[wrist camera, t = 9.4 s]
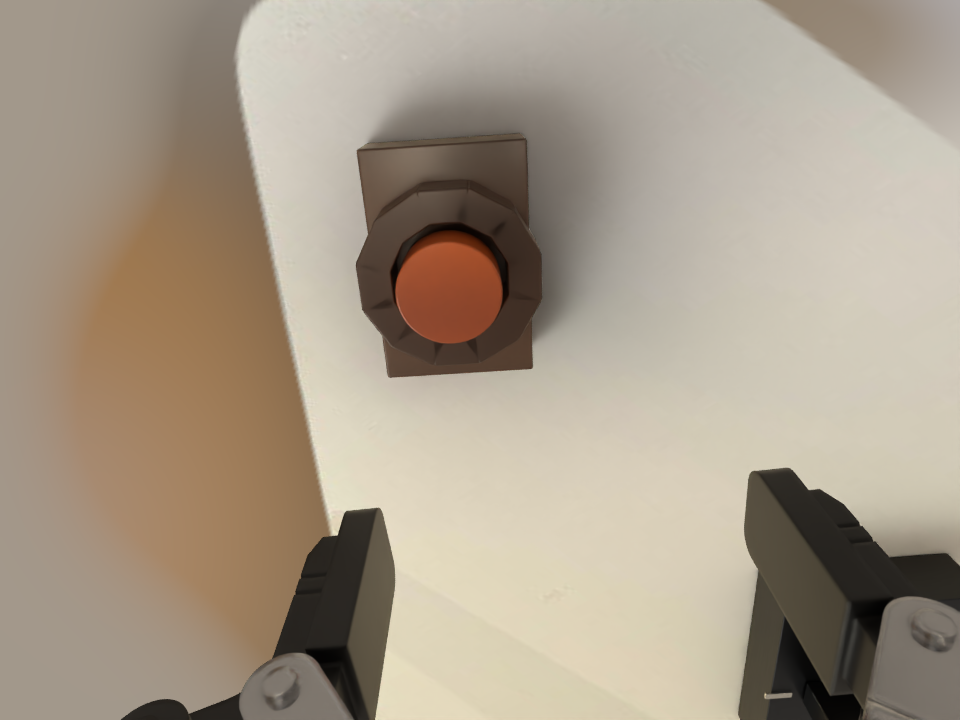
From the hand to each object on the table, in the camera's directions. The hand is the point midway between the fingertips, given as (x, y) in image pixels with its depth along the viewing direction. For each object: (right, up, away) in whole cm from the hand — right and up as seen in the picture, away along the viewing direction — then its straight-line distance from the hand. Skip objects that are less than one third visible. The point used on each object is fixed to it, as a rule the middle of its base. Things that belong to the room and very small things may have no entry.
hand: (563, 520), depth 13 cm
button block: (-3, +8, +12) cm, 15 cm away
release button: (-3, +6, +9) cm, 11 cm away
